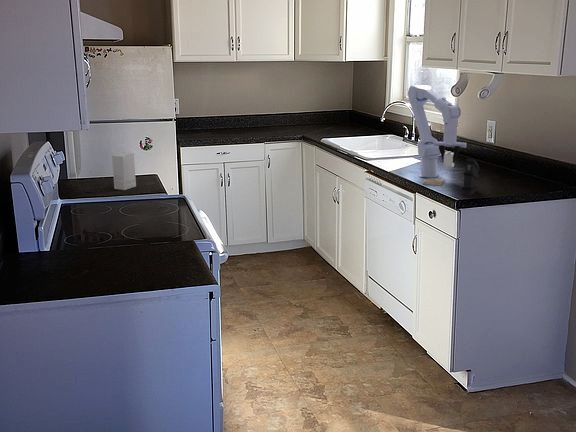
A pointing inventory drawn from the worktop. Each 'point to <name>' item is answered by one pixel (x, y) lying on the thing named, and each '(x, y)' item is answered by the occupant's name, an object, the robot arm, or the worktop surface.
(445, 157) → the housing
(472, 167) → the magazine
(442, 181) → the stand
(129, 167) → the skincare box
